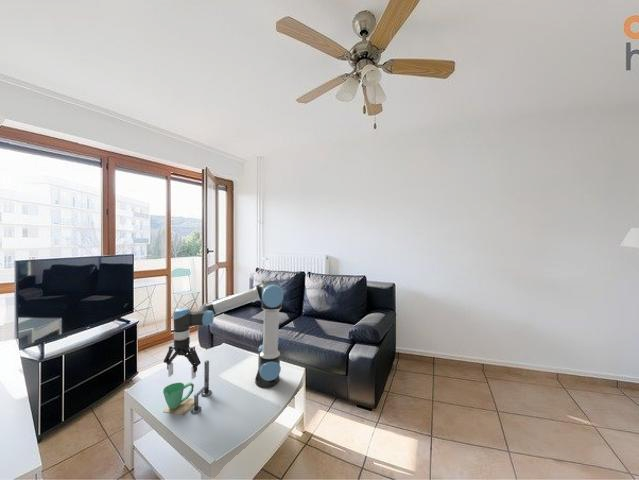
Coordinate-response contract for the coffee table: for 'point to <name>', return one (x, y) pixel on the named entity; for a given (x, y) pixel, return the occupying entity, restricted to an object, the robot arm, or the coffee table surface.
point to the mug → (176, 394)
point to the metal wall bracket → (205, 388)
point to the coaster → (182, 407)
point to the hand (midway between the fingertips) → (182, 376)
